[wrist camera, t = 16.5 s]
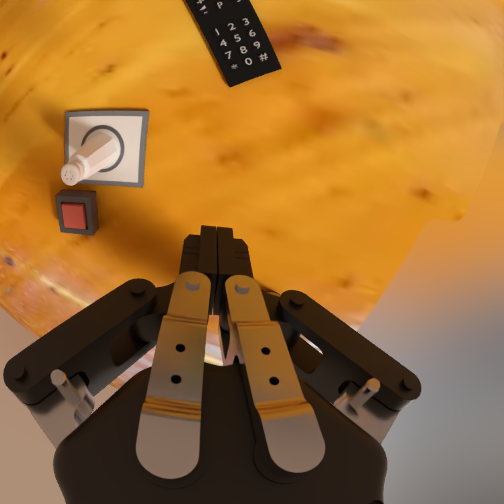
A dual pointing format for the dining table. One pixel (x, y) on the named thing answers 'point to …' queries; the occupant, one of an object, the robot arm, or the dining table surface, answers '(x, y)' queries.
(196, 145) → the dining table surface
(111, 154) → the salt shaker
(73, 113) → the board
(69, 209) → the button
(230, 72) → the remote control
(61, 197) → the button housing
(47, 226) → the dining table surface
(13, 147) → the dining table surface
